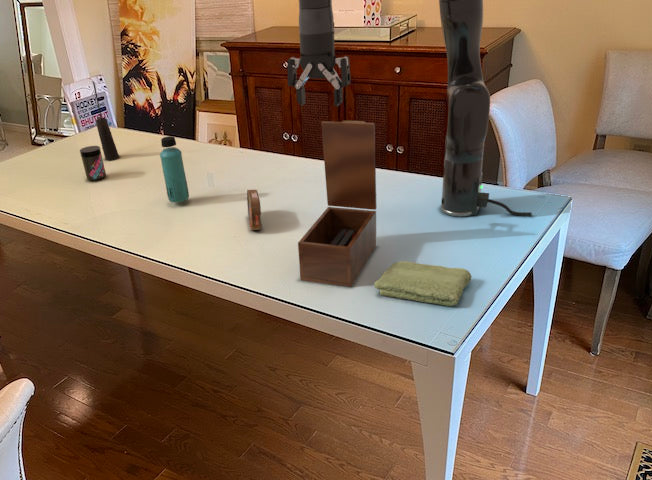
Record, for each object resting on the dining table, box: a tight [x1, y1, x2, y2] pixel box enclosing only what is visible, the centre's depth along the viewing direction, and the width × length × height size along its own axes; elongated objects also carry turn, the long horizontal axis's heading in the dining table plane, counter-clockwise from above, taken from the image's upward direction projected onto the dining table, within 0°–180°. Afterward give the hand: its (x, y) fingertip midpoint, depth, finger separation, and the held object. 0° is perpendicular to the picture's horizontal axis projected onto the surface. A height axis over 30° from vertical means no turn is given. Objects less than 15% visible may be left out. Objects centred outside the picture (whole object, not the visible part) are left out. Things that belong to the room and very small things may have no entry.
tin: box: [246, 189, 262, 231], centre depth 166 cm, size 15×3×8 cm, turn 5°
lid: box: [320, 120, 377, 211], centre depth 143 cm, size 21×12×5 cm
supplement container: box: [79, 145, 107, 183], centre depth 210 cm, size 7×7×10 cm
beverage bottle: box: [159, 135, 190, 203], centre depth 181 cm, size 6×7×20 cm
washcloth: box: [373, 260, 473, 307], centre depth 131 cm, size 13×18×3 cm
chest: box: [297, 206, 377, 288], centre depth 142 cm, size 20×12×9 cm, turn 155°
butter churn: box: [92, 81, 120, 162], centre depth 224 cm, size 9×10×28 cm
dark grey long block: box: [330, 229, 355, 246], centre depth 143 cm, size 15×3×5 cm, turn 155°
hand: (319, 104), depth 144 cm, fingers open, 8 cm apart
